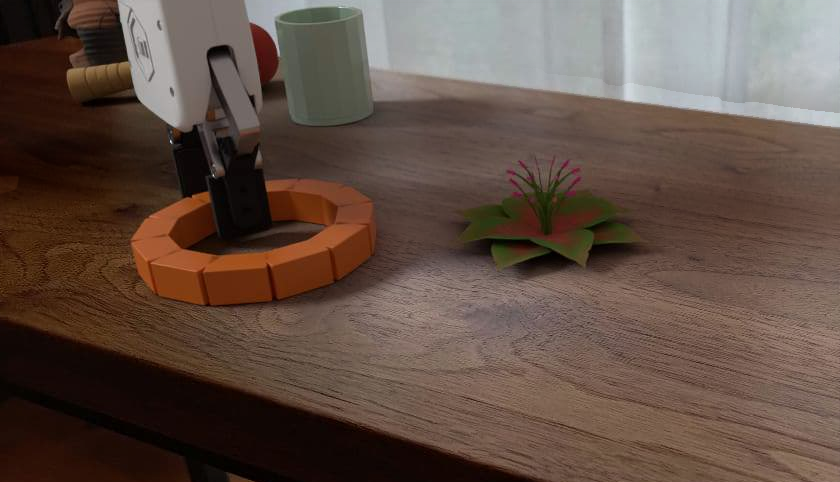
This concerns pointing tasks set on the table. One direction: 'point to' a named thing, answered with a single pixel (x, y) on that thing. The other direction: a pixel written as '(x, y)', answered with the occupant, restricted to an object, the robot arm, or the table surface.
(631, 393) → the table surface
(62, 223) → the table surface
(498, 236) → the lily flower
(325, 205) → the ring
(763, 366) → the table surface
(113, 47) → the pottery mug
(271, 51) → the kendama
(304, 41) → the cup
